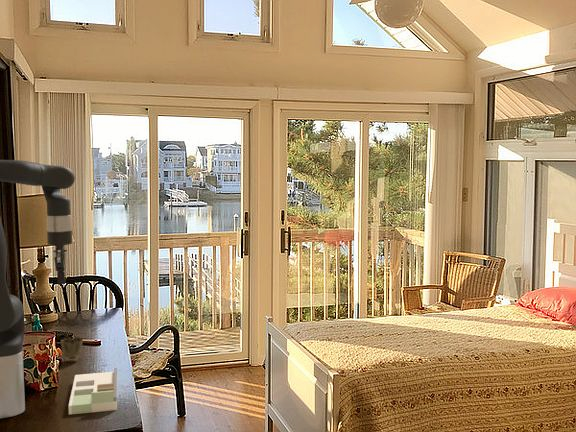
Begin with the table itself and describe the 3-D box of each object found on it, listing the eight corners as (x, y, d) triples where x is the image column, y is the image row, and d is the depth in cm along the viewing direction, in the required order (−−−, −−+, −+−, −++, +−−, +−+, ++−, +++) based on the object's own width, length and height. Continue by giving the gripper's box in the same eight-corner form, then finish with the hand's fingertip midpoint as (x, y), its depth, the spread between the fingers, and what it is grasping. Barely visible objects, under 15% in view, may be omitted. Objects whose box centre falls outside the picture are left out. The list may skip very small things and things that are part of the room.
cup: (60, 364, 226) (59, 342, 225) (62, 359, 233) (61, 337, 232) (82, 363, 228) (82, 340, 227) (83, 357, 235) (83, 335, 234)
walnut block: (113, 398, 185) (113, 388, 185) (97, 400, 184) (97, 389, 184) (113, 393, 190) (113, 383, 189) (97, 394, 189) (97, 384, 188)
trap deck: (116, 409, 183) (116, 390, 183) (68, 414, 180) (68, 395, 180) (117, 378, 210) (116, 362, 210) (75, 382, 207) (74, 365, 207)
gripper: (70, 231, 199) (72, 286, 201) (73, 227, 212) (75, 279, 213) (44, 231, 197) (46, 287, 199) (49, 228, 210) (51, 280, 211)
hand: (61, 283), depth 206 cm, fingers closed
